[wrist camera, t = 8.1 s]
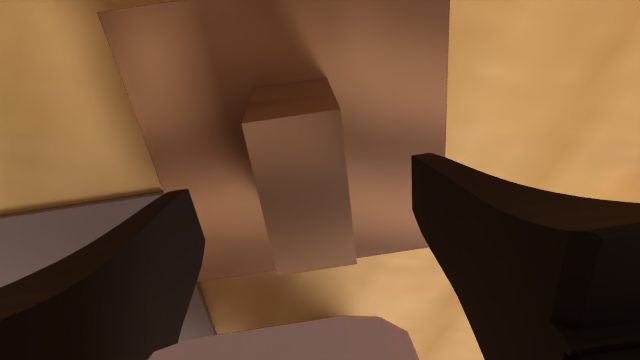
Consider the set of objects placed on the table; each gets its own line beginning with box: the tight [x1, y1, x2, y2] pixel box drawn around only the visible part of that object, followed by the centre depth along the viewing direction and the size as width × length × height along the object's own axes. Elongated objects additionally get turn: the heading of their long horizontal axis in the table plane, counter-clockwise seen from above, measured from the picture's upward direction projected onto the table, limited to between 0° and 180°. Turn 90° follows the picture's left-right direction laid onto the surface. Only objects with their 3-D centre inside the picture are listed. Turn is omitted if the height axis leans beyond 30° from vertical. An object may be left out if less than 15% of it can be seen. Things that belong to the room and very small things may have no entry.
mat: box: [0, 192, 217, 343], centre depth 26 cm, size 16×16×1 cm
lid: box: [97, 0, 450, 282], centre depth 15 cm, size 13×13×6 cm
